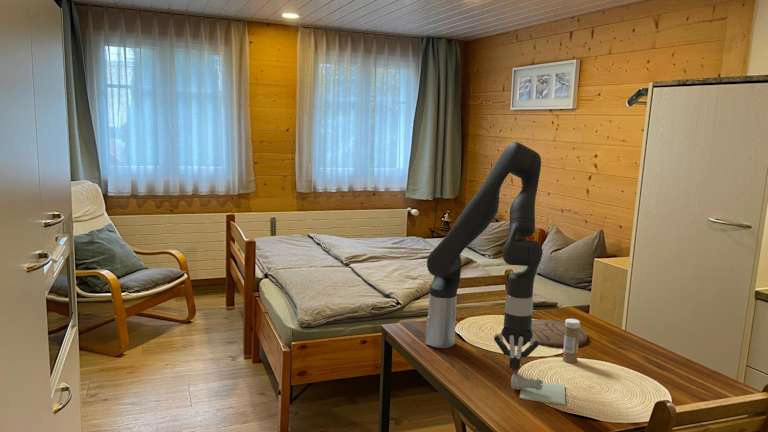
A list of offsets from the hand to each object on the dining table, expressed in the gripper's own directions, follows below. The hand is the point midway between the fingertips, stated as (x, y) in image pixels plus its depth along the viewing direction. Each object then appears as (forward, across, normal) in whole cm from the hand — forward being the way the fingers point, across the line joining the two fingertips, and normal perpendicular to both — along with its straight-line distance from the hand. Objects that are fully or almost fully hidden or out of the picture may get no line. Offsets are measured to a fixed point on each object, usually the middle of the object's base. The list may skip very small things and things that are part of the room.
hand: (514, 369), depth 165 cm
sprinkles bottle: (+6, +16, +27) cm, 32 cm away
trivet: (+6, +10, +50) cm, 52 cm away
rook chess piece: (+3, 0, 0) cm, 3 cm away
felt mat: (+6, +8, 0) cm, 10 cm away
